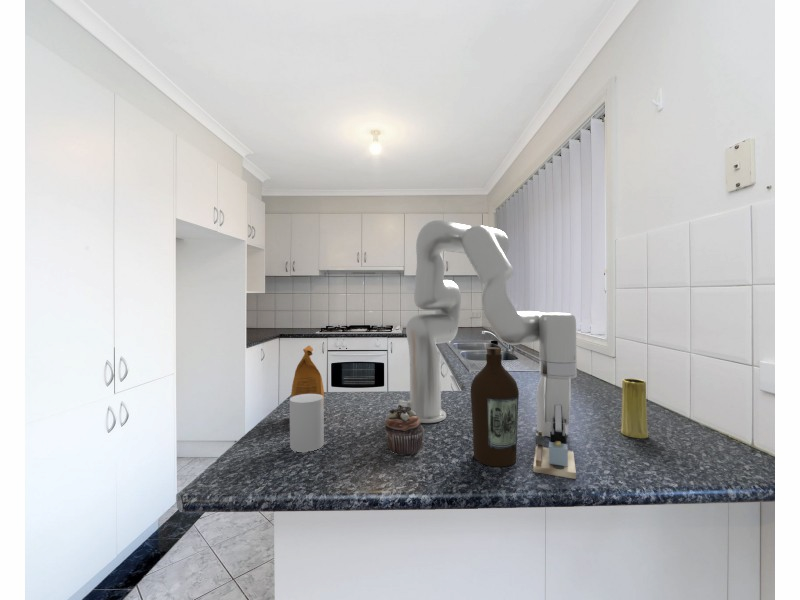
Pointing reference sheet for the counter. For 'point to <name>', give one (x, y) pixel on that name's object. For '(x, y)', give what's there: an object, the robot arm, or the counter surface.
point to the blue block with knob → (558, 453)
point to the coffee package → (307, 377)
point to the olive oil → (494, 413)
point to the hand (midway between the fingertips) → (558, 451)
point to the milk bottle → (541, 424)
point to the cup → (306, 422)
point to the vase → (634, 408)
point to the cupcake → (404, 431)
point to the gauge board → (544, 467)
